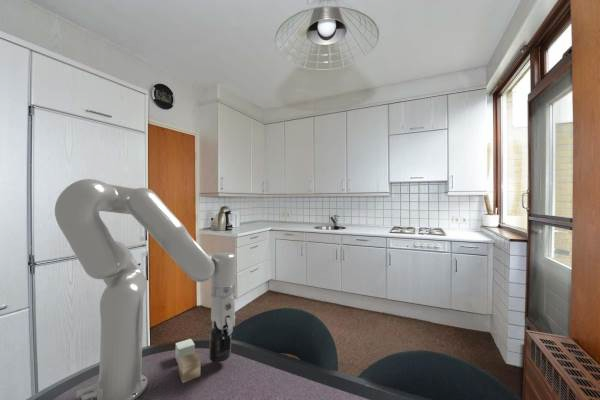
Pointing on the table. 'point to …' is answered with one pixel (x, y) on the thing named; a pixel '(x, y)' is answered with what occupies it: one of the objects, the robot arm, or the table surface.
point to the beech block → (189, 367)
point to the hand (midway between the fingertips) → (220, 344)
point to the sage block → (184, 349)
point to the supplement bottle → (217, 345)
